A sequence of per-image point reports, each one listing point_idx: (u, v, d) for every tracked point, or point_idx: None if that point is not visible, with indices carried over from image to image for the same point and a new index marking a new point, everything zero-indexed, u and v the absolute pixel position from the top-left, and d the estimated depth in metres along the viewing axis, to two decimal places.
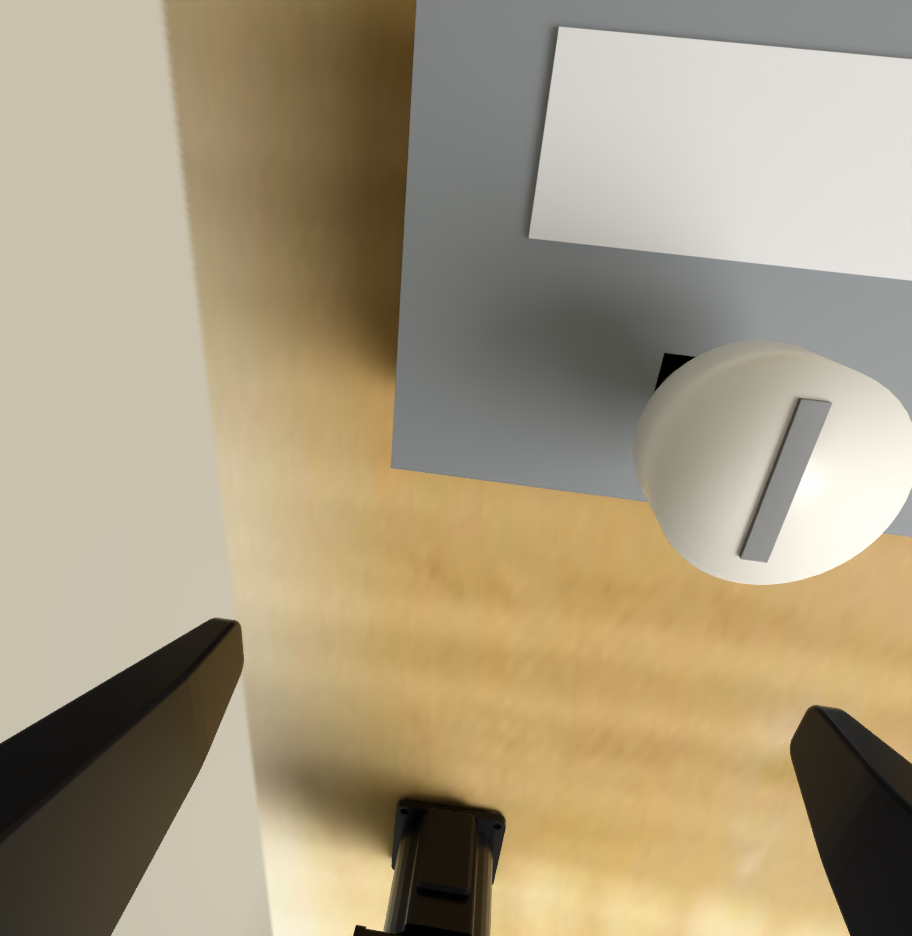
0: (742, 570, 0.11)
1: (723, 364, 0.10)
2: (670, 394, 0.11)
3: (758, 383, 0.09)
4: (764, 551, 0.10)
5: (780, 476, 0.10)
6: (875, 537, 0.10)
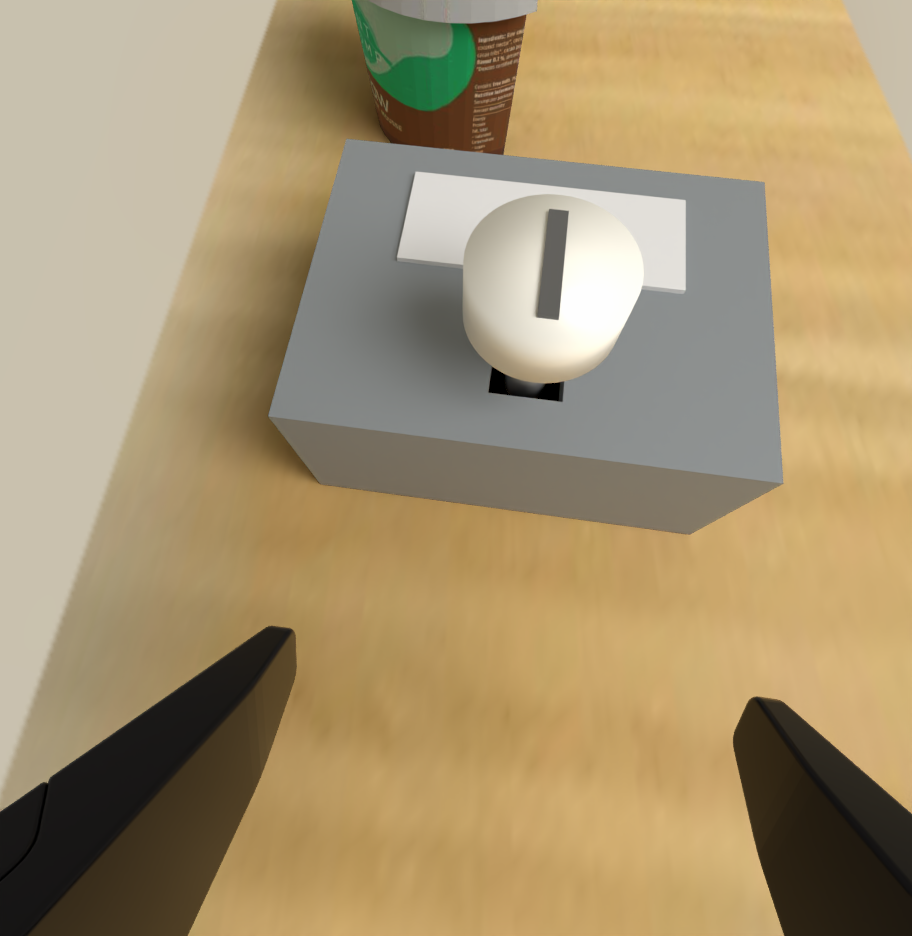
0: (543, 329, 0.13)
1: None
2: None
3: (521, 204, 0.14)
4: (555, 312, 0.13)
5: (550, 254, 0.13)
6: (634, 301, 0.13)
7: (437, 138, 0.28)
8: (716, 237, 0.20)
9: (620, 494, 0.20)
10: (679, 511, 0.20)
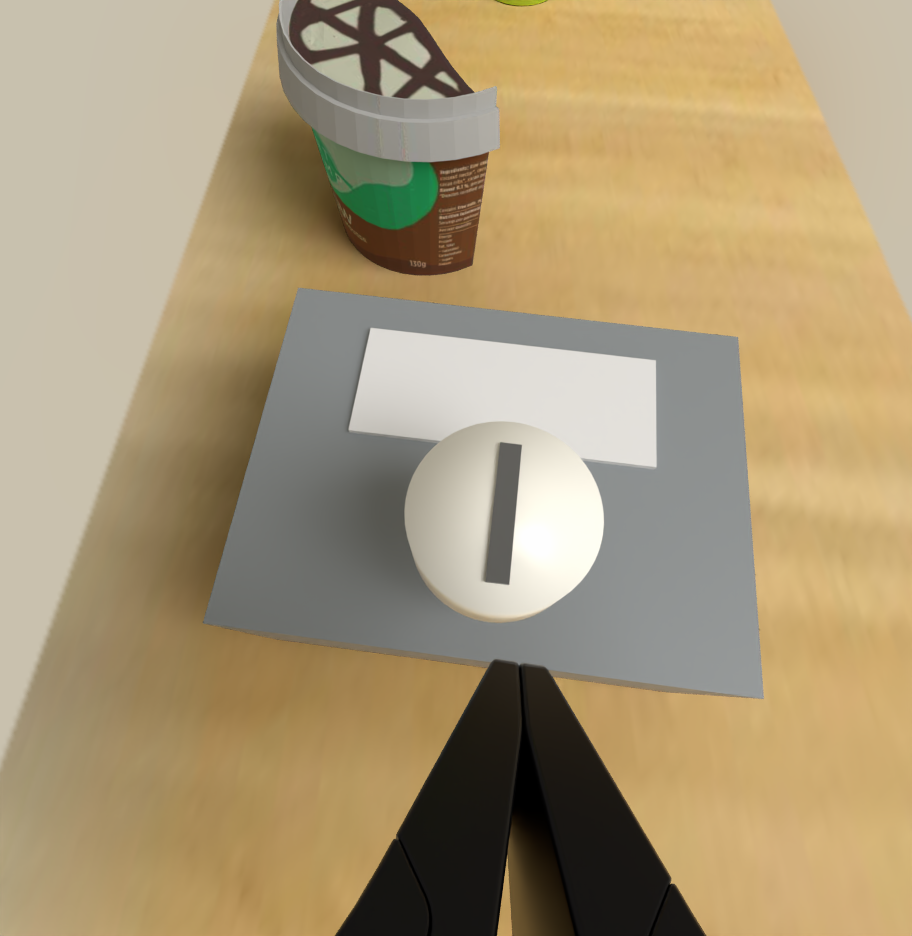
0: (491, 597, 0.11)
1: None
2: None
3: (469, 434, 0.13)
4: (506, 575, 0.11)
5: (500, 501, 0.12)
6: (593, 559, 0.12)
7: (403, 252, 0.27)
8: (688, 402, 0.18)
9: None
10: (655, 688, 0.19)
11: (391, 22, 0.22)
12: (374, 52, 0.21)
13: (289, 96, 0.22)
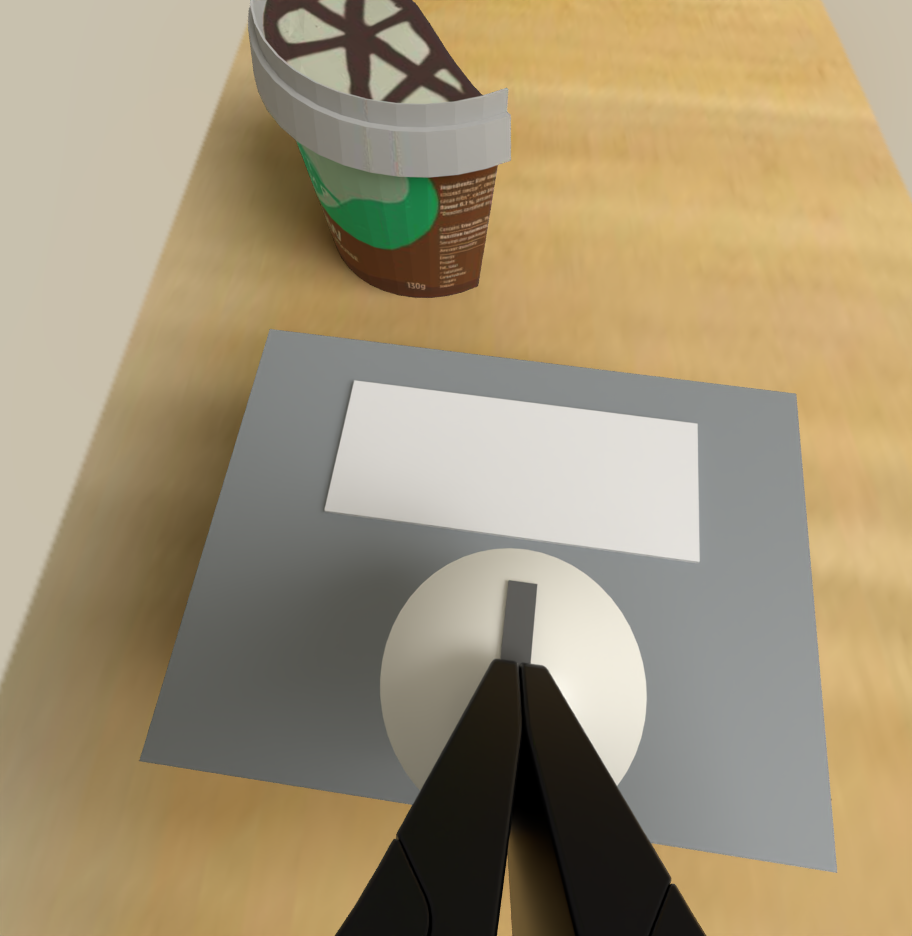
0: None
1: None
2: None
3: (468, 566, 0.10)
4: None
5: None
6: (633, 753, 0.09)
7: (399, 273, 0.24)
8: (737, 476, 0.15)
9: None
10: None
11: (383, 9, 0.18)
12: (363, 45, 0.18)
13: (263, 97, 0.19)
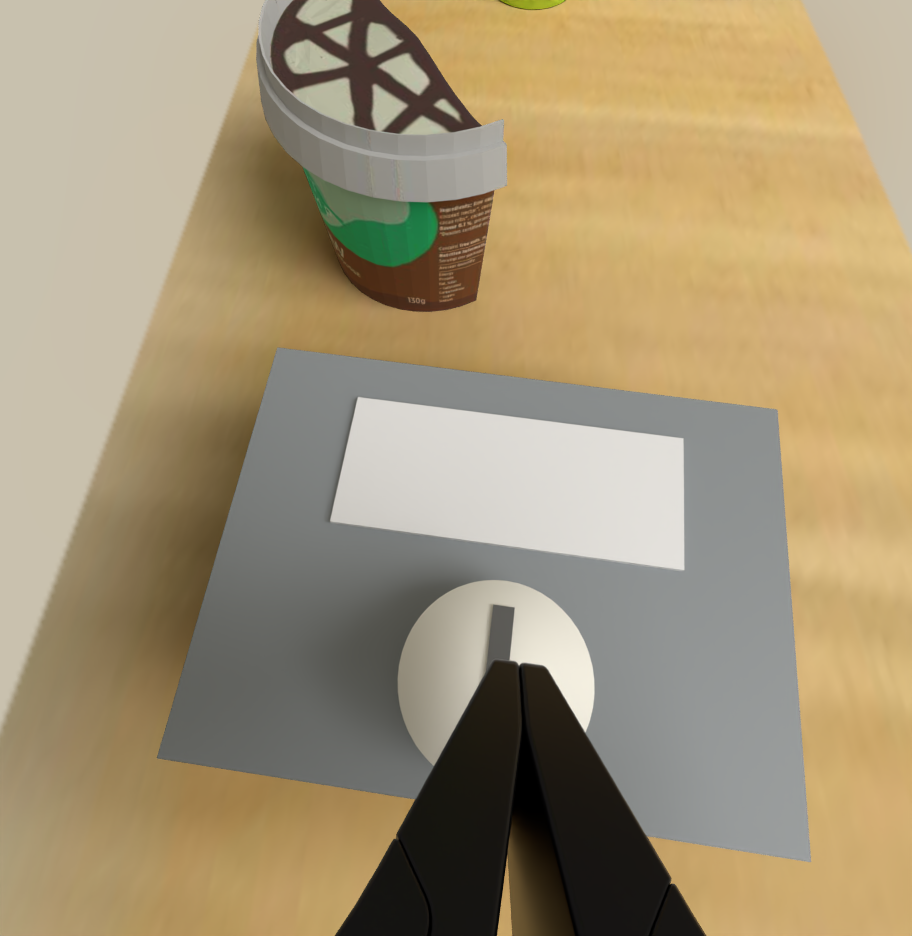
0: None
1: None
2: None
3: (463, 594, 0.13)
4: None
5: None
6: None
7: (400, 289, 0.25)
8: (721, 488, 0.16)
9: None
10: None
11: (386, 41, 0.19)
12: (366, 75, 0.19)
13: (271, 125, 0.20)
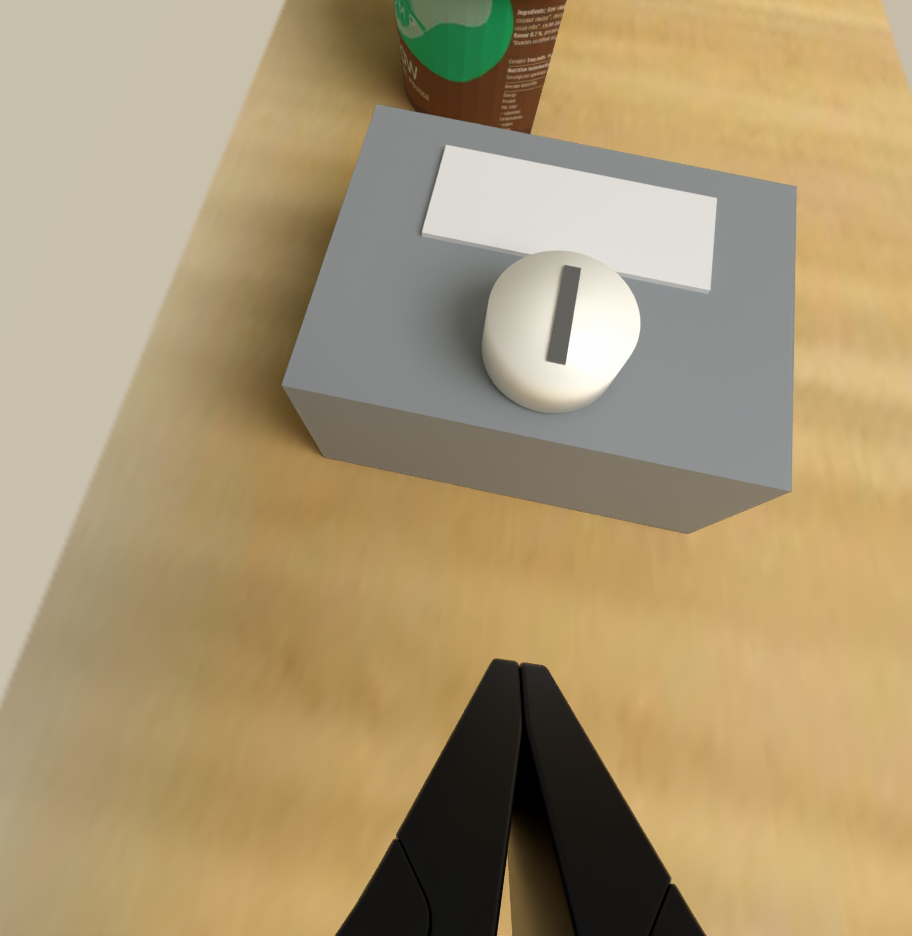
0: (551, 372, 0.15)
1: None
2: None
3: (540, 258, 0.16)
4: (563, 358, 0.15)
5: (562, 306, 0.15)
6: (630, 353, 0.15)
7: (465, 111, 0.28)
8: (744, 238, 0.19)
9: (626, 490, 0.20)
10: (682, 510, 0.20)
11: None
12: None
13: None
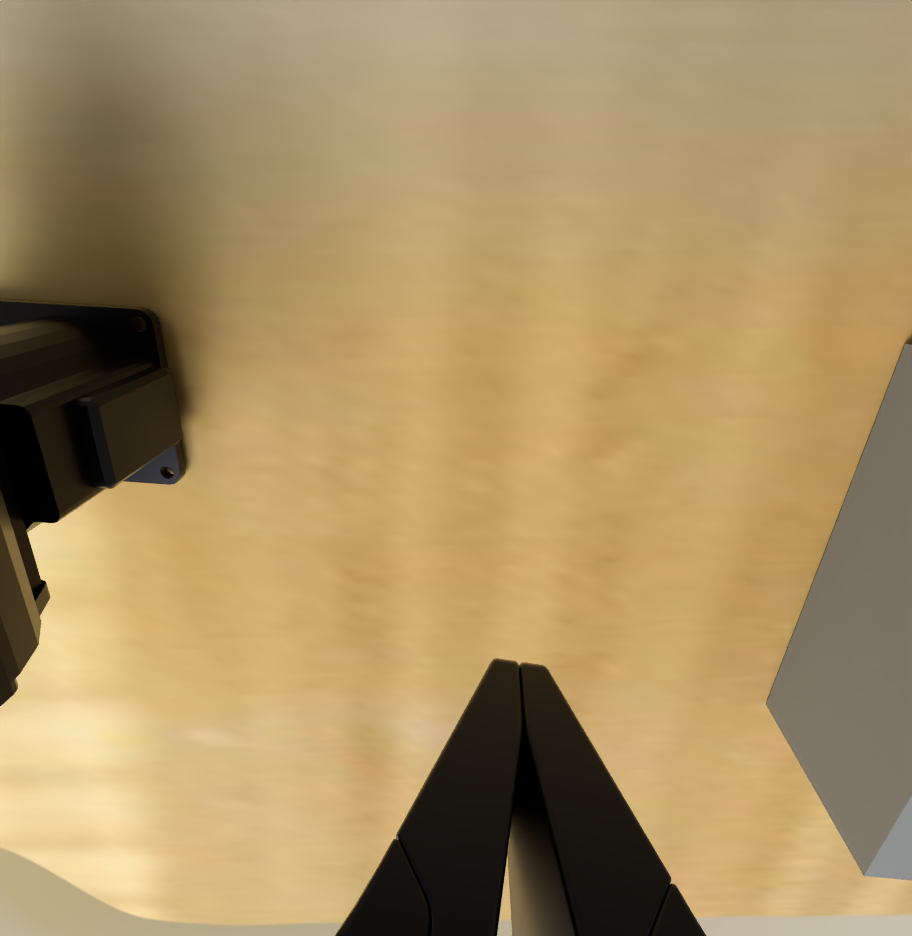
0: None
1: None
2: None
3: None
4: None
5: None
6: None
7: None
8: None
9: (850, 710, 0.19)
10: (813, 736, 0.21)
11: None
12: None
13: None
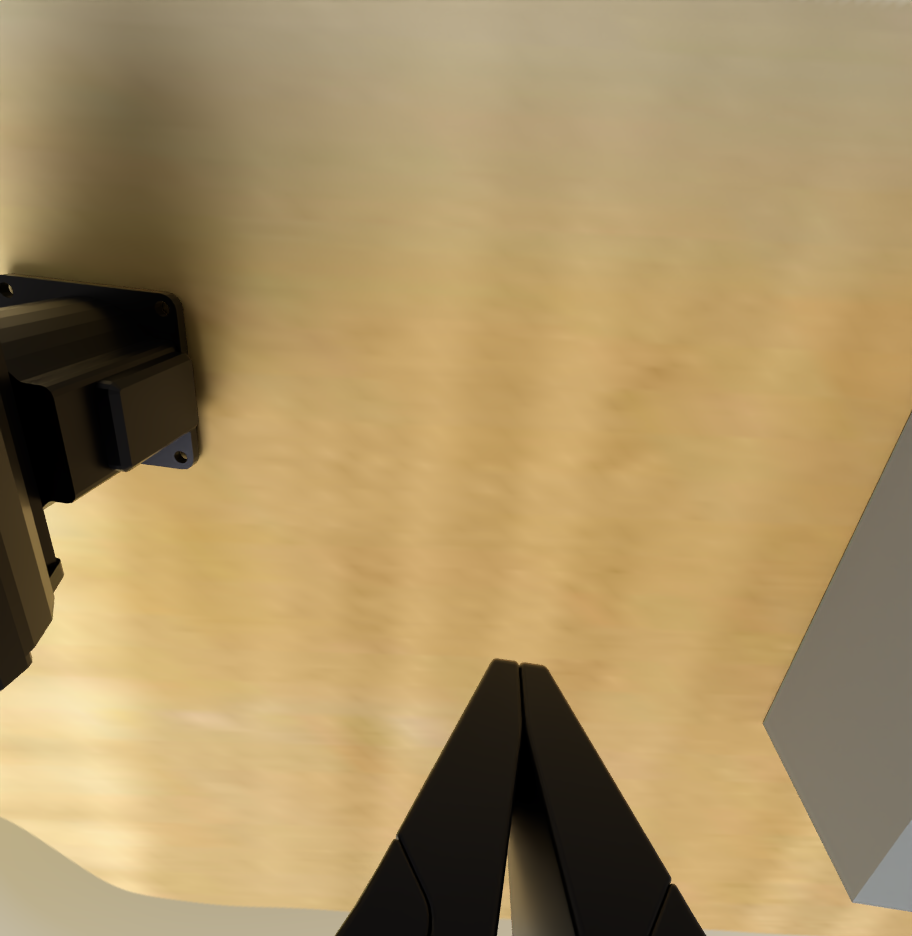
0: None
1: None
2: None
3: None
4: None
5: None
6: None
7: None
8: None
9: (848, 736, 0.19)
10: (809, 759, 0.21)
11: None
12: None
13: None
